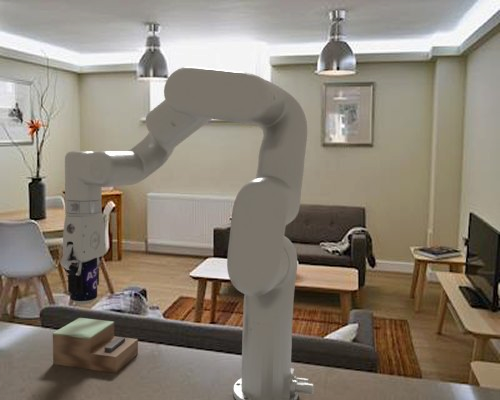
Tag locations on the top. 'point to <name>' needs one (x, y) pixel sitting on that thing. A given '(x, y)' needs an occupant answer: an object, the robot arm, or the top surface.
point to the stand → (92, 346)
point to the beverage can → (87, 283)
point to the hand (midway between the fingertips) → (84, 287)
